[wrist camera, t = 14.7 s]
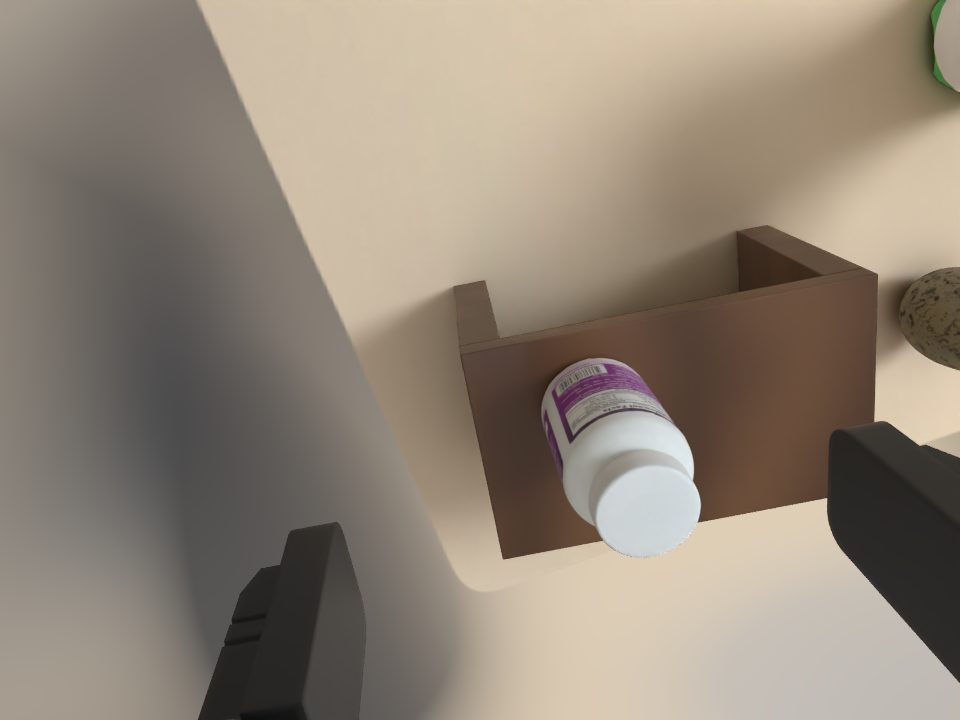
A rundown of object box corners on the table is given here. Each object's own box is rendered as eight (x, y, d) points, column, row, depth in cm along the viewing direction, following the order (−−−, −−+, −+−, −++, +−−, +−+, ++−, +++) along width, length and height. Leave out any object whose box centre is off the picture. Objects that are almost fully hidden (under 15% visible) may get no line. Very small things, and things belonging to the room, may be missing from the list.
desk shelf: (487, 451, 50) (503, 560, 38) (453, 286, 45) (460, 354, 34) (773, 396, 49) (873, 489, 38) (768, 224, 45) (878, 273, 34)
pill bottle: (630, 460, 37) (693, 584, 28) (528, 443, 36) (560, 565, 27) (661, 363, 35) (740, 462, 26) (555, 344, 34) (598, 439, 25)
